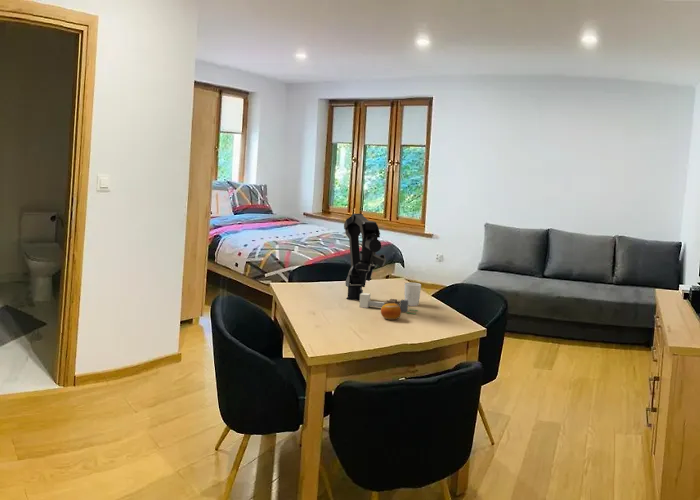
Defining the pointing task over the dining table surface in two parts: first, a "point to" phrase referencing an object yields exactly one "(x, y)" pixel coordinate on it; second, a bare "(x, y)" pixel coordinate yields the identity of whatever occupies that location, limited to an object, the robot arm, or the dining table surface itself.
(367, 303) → the grey bar
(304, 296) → the dining table surface
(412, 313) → the housing
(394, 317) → the fruit
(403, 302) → the telltale
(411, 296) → the white cup
